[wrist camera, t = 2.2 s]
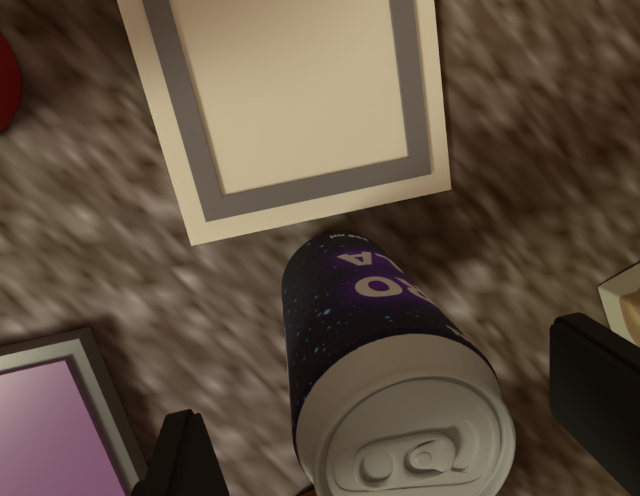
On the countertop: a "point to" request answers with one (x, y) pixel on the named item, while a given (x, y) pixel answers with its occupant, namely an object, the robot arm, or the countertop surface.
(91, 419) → the ink pad
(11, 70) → the plastic cup
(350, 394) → the beverage can
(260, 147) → the print card
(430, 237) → the countertop surface
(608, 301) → the skincare box
